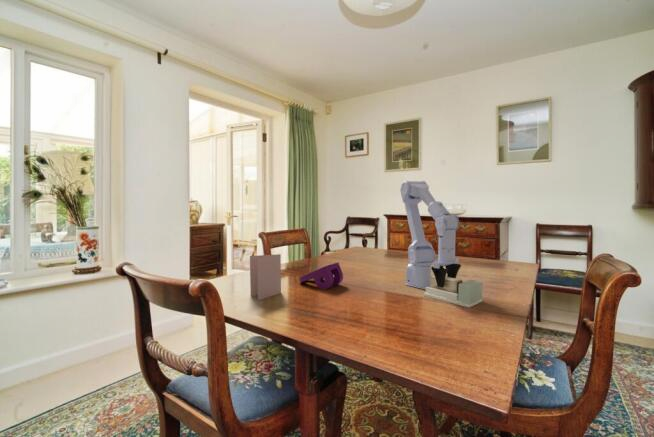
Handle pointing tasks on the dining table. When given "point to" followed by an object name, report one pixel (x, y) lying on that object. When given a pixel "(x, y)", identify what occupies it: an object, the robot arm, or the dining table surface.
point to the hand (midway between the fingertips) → (446, 284)
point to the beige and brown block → (447, 284)
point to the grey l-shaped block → (459, 294)
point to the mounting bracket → (325, 276)
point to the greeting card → (265, 275)
